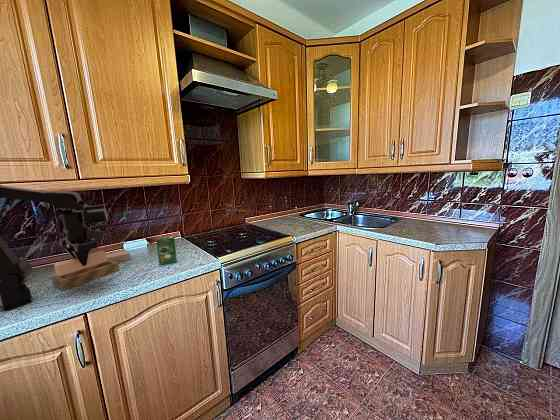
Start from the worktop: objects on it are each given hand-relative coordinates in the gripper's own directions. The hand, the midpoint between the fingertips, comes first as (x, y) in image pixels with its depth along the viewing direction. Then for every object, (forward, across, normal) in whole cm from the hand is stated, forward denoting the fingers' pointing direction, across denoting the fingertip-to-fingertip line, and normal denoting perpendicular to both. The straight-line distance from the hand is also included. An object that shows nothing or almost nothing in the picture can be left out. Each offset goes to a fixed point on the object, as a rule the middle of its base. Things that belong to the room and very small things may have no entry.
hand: (82, 264), depth 89 cm
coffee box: (+10, -6, -31) cm, 33 cm away
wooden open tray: (+10, +13, -5) cm, 17 cm away
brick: (+11, +24, -19) cm, 32 cm away
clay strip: (+1, 0, 0) cm, 1 cm away
